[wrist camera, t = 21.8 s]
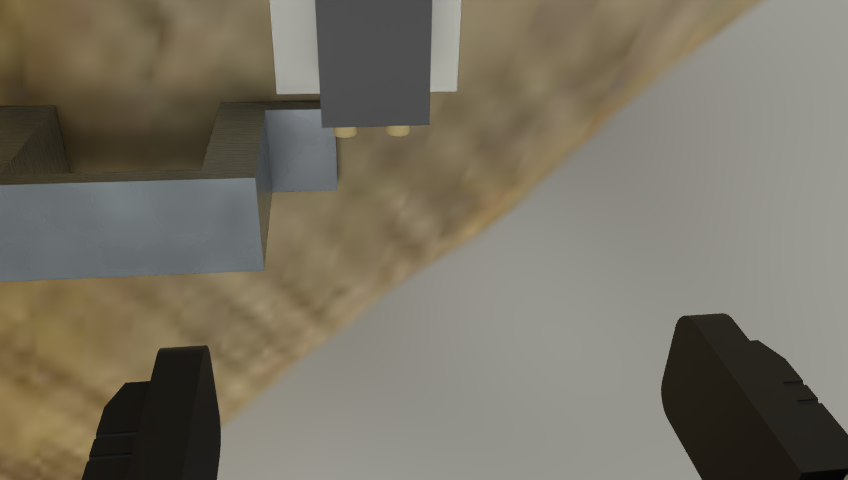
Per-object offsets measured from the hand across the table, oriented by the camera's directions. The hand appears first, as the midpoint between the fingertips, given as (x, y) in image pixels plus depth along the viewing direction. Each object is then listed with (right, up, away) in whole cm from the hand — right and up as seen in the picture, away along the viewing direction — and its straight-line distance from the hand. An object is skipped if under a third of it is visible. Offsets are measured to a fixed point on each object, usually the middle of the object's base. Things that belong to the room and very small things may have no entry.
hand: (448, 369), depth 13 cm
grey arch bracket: (-13, +6, +21) cm, 26 cm away
